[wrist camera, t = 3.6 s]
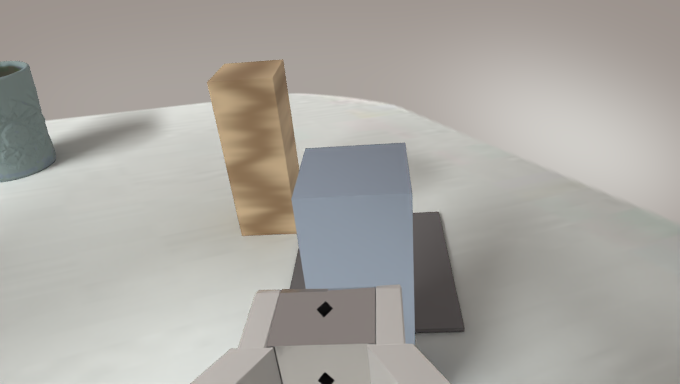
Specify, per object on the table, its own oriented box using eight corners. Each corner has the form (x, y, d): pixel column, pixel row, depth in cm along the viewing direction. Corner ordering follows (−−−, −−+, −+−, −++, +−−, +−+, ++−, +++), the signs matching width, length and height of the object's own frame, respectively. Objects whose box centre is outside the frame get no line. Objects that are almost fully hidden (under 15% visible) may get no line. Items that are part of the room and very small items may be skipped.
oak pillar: (242, 235, 44) (207, 82, 37) (253, 206, 48) (224, 63, 41) (297, 233, 43) (272, 77, 37) (304, 203, 48) (283, 59, 41)
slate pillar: (325, 415, 28) (291, 198, 21) (332, 345, 32) (305, 148, 25) (416, 414, 27) (412, 192, 20) (410, 344, 31) (404, 142, 24)
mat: (281, 335, 33) (280, 332, 33) (305, 220, 45) (305, 217, 45) (464, 331, 32) (464, 327, 32) (438, 214, 44) (438, 211, 44)
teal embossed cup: (-1, 154, 66) (-43, 65, 60) (76, 145, 67) (42, 56, 61) (-43, 191, 57) (-97, 91, 52) (46, 179, 58) (3, 79, 52)
